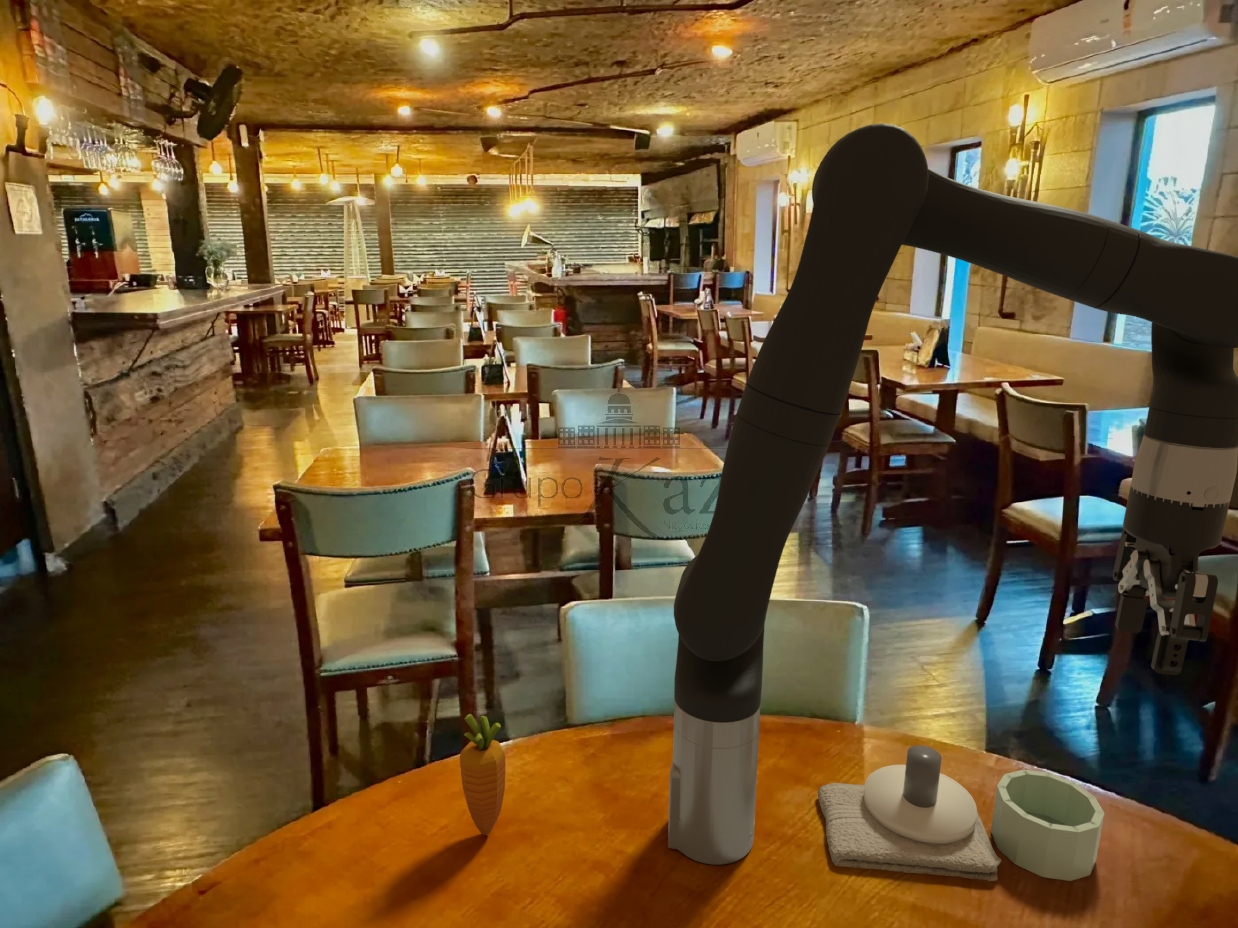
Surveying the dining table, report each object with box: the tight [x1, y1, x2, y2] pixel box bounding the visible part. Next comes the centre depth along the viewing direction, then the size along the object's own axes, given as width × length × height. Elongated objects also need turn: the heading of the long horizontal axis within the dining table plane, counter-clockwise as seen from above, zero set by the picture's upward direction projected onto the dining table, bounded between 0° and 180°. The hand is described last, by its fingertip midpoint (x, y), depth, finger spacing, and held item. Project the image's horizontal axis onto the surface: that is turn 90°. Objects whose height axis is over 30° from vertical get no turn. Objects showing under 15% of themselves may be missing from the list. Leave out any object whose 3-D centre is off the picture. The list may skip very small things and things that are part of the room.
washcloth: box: [817, 782, 1002, 882], centre depth 89 cm, size 12×18×3 cm, turn 83°
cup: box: [990, 769, 1105, 882], centre depth 87 cm, size 10×10×6 cm
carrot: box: [459, 713, 506, 836], centre depth 88 cm, size 5×5×15 cm
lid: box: [864, 744, 978, 844], centre depth 90 cm, size 12×12×7 cm
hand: (1145, 650), depth 76 cm, fingers open, 8 cm apart
